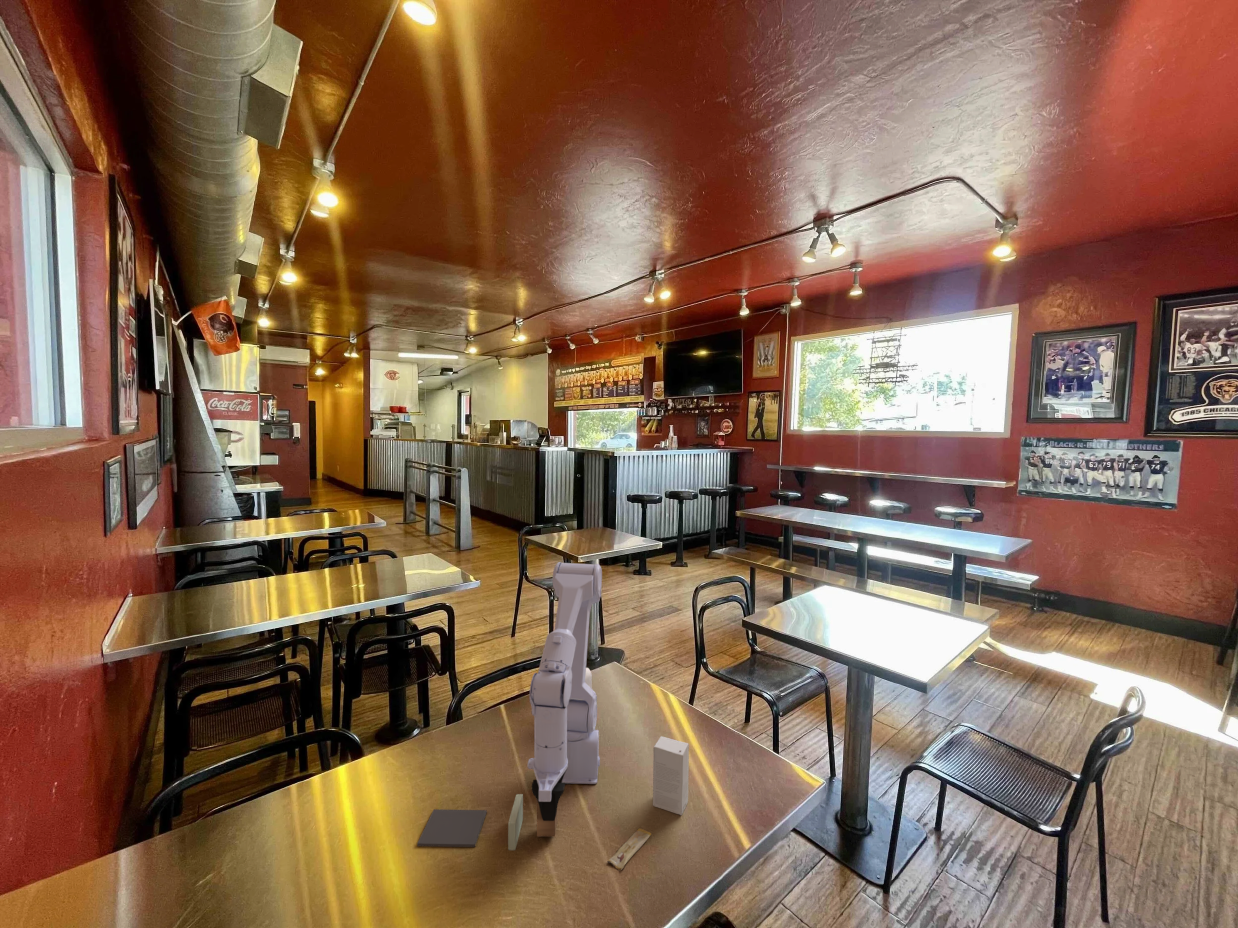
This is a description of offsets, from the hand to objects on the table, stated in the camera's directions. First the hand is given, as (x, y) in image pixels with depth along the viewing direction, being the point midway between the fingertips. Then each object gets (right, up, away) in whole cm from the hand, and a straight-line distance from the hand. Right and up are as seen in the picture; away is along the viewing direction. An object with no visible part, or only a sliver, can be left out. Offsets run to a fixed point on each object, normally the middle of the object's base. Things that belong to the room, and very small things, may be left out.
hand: (550, 810), depth 92 cm
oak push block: (-1, -3, 0) cm, 3 cm away
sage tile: (-6, -4, 0) cm, 8 cm away
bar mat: (-18, -4, +1) cm, 18 cm away
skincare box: (+22, -4, +8) cm, 24 cm away
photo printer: (+1, -2, +37) cm, 37 cm away
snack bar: (+14, -5, -3) cm, 15 cm away
